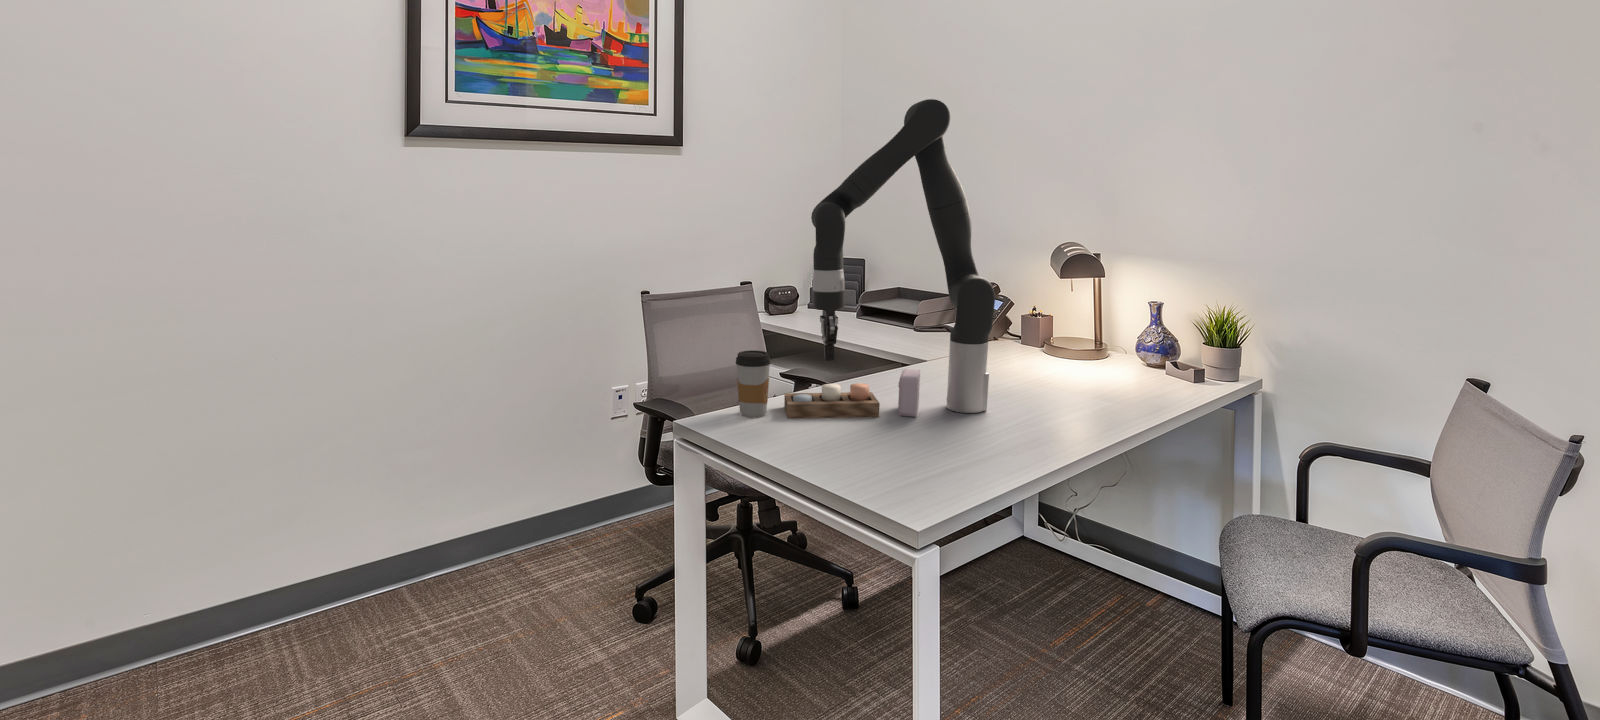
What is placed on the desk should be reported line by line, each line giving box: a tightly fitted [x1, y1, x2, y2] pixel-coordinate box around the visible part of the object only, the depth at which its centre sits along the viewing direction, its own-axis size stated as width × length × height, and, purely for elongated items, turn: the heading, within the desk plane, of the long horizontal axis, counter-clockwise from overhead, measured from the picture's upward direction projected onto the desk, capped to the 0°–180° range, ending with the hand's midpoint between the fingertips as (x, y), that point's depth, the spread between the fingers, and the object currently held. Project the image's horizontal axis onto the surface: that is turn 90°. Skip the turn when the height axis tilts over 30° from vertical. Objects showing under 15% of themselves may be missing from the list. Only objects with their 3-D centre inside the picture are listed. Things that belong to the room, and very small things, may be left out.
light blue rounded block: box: [793, 394, 812, 402], centre depth 191 cm, size 5×5×3 cm
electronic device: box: [897, 368, 921, 418], centre depth 192 cm, size 10×5×10 cm, turn 168°
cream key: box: [821, 383, 842, 401], centre depth 191 cm, size 5×5×3 cm
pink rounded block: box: [849, 382, 870, 401], centre depth 192 cm, size 5×5×3 cm
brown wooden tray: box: [783, 391, 881, 420], centre depth 192 cm, size 22×10×4 cm, turn 96°
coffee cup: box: [735, 349, 771, 419], centre depth 188 cm, size 8×8×15 cm
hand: (829, 359), depth 189 cm, fingers closed
